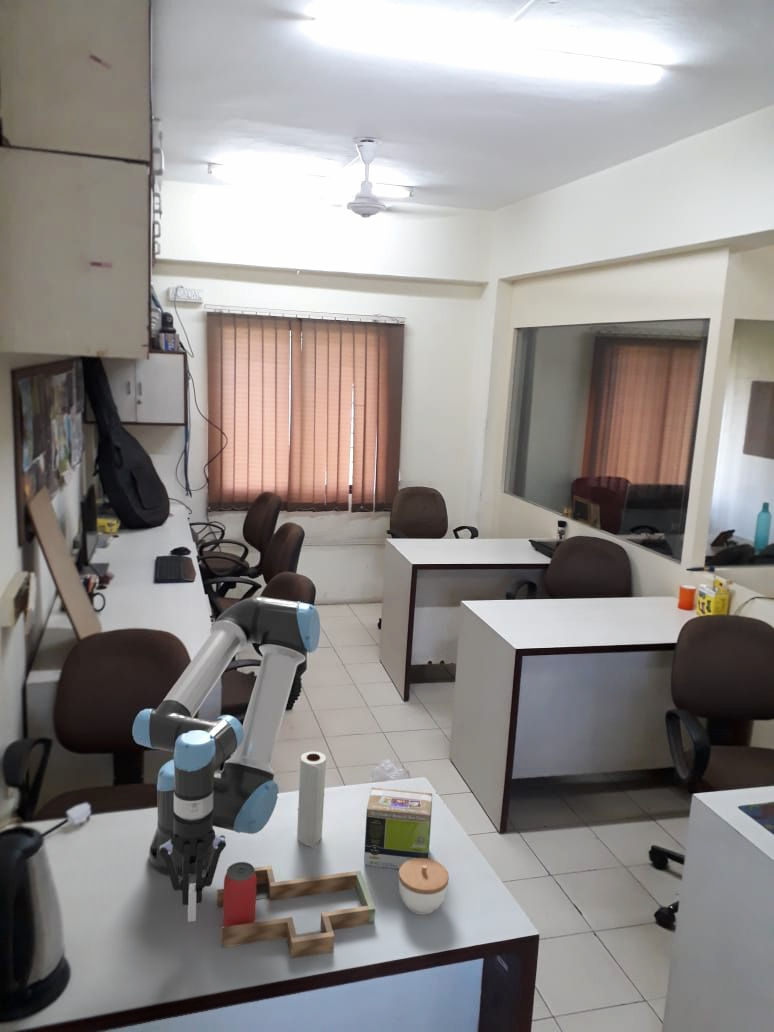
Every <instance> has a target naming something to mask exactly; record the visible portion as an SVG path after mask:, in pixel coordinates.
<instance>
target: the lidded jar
mask: <svg viewBox="0 0 774 1032" xmlns="http://www.w3.org/2000/svg"><path fill="white" fill-rule="evenodd" d="M449 879H450V878H449V873H448V870H447V869H446V867H445V866H444V865H443V864H441V863H440V862H438V861H437V860H435V859H431V858H428V859H427V858H414V859H411V860H408V861H406V862H405V863H403V864H402V865H401V867H400V869H399V870H398V890H399V894H400V898H401V900H402V901H403V904H404V905H405V906H406V908H408V909H409V911H411V912H412V913H413V914H416V915H418V916H419V915H422V916H424V915H430V914H432V913H433V912H434V911H436V910H437V909H438V908H439V907H441V905H442V903H443V902H444V900H445V898H446V895H447V890H448V885H449V884H448V883H449Z"/></svg>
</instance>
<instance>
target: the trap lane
mask: <svg viewBox="0 0 774 1032" xmlns="http://www.w3.org/2000/svg"><path fill="white" fill-rule="evenodd" d="M254 869H255V870H254V872H255V874H256V877H257V884H256V901H257V900H263V899H264V900H265V899H269V902H270V901H271V902H272V901H273V902H274V901H277V900H278V901H279V900H287V899H292V898H299V897H308V896H315V895H321V894H326V893H327V894H328V893H334V892H335V893H336V892H342V891H349V890H355V891H356V894H357V896H358V900H359V901H360V904H361V906H357V907H349V908H343V909H336V910H331V911H330V910H329V911H324V912H321V913H320V930H317V931H310V932H305V933H299V934H297V932H296V928H295V927H296V926H295V923H294V919H293V916H290V917H283V918H277V919H269V920H261V921H255V922H254V923H248V924H242V925H235V926H228V927H225V926H222V927H221V936H220V937H221V939H220V941H221V943H220V944H221V948H226V947H234V946H238V945H239V946H240V945H245V944H251V943H258V942H264V941H266V942H267V941H271V940H277V939H283V938H284V939H285V938H286V941H287V946H288V950H289V954H290V959H296V958H302V957H307V956H309V957H310V956H313V955H319V954H320V955H321V954H326V953H333V952H335V951H334V947H335V933H334V931H336V930H340V929H349V928H354V927H362V926H366V925H367V926H368V925H373V924H374V925H375V921H376V920H375V918H376V907H375V904H374V902H373V899H372V896H371V894H370V892H369V888H368V886H367V884H366V882H365V879H364V876H363V874H362V872H361V870H355V871H347V872H341V873H340V872H339V873H334V874H333V873H331V874H326V875H318V876H317V875H316V876H310V877H305V878H296V879H288V880H280V881H276V879H275V876H274V870H273V866H272V865H270V864H269V865H264V866H257V867H254ZM216 893H217V894H216V896H217V897H216V908H217V909H222V908H223V898H224V888H221V889H220V888H219V889H217V892H216Z"/></svg>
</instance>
